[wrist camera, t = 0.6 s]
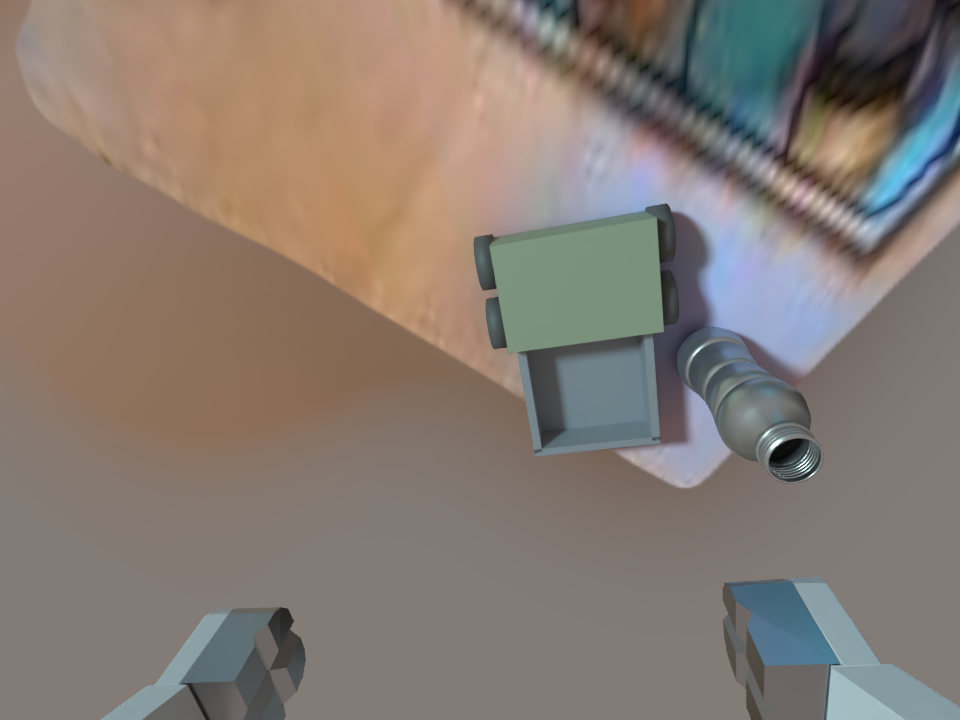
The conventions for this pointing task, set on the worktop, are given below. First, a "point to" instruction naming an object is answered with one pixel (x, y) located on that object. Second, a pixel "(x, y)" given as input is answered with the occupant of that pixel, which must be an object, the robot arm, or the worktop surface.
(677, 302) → the toy pickup truck
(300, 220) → the worktop surface
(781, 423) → the silver metal bottle
